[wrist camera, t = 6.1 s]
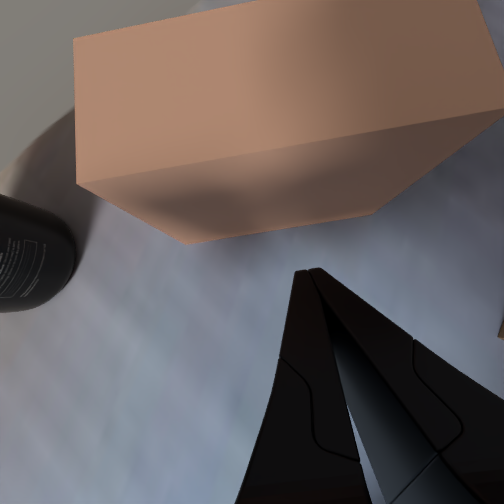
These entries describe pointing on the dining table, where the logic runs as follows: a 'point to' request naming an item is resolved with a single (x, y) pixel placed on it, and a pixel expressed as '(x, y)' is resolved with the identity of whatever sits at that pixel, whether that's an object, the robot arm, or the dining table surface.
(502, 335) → the walnut block
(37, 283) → the supplement bottle
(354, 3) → the terracotta block
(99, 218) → the dining table surface
